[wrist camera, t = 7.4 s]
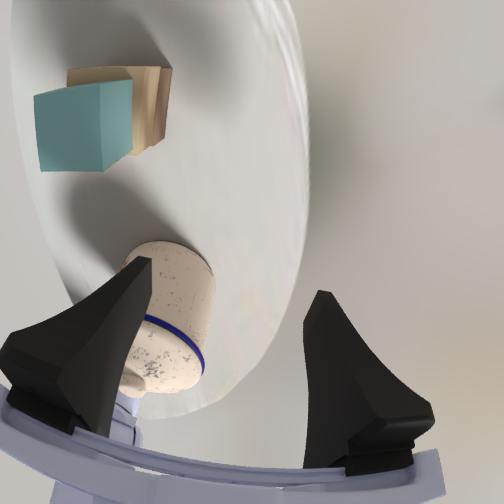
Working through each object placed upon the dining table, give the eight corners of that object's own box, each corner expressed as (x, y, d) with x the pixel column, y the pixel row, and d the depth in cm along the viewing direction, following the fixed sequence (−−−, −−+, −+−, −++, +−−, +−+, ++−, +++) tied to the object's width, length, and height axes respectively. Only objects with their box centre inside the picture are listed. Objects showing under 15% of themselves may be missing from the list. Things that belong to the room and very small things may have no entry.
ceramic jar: (115, 232, 24) (47, 336, 14) (219, 241, 24) (191, 367, 14) (137, 326, 30) (104, 419, 21) (218, 337, 30) (203, 440, 21)
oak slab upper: (152, 144, 17) (137, 155, 15) (86, 138, 17) (66, 149, 15) (160, 66, 14) (145, 67, 12) (89, 67, 14) (67, 70, 12)
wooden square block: (165, 136, 19) (153, 146, 17) (104, 132, 19) (87, 141, 17) (173, 68, 16) (161, 68, 14) (108, 67, 16) (90, 69, 14)
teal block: (132, 149, 15) (103, 171, 12) (75, 150, 15) (40, 171, 12) (132, 79, 13) (99, 84, 10) (72, 85, 12) (33, 95, 10)
